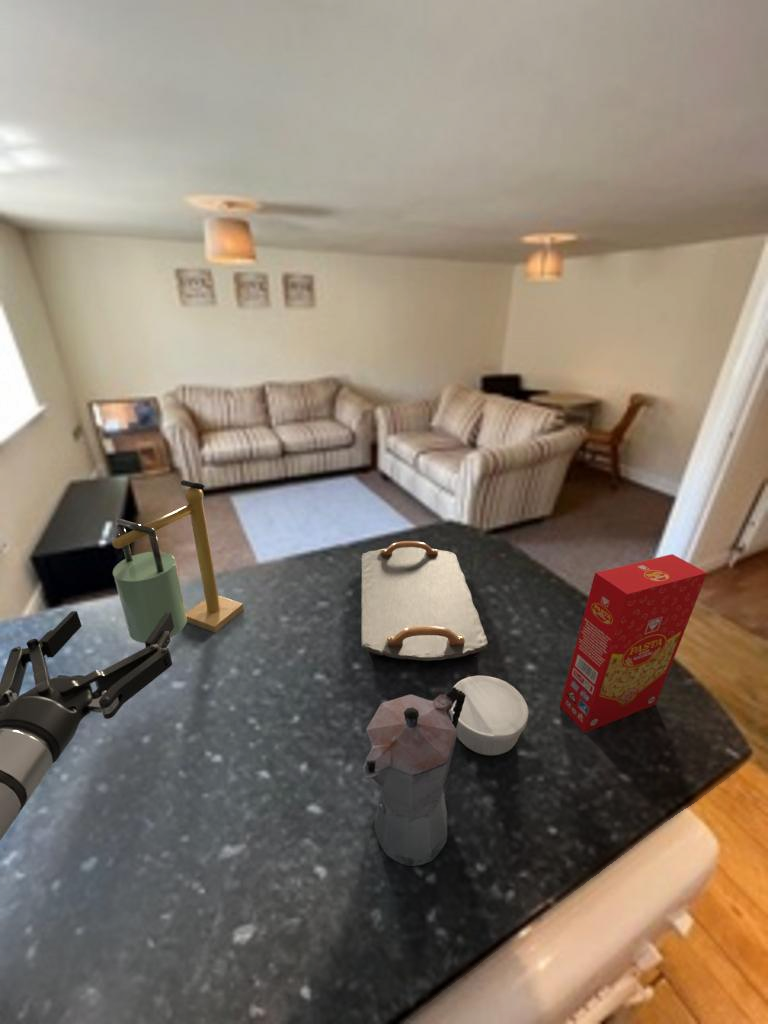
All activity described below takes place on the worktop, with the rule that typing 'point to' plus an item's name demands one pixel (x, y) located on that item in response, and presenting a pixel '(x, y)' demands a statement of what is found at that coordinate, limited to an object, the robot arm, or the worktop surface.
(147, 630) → the green hanging weight
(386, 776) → the moka pot
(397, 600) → the serving tray
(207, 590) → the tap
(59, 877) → the worktop surface
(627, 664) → the food packaging
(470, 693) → the ramekin
